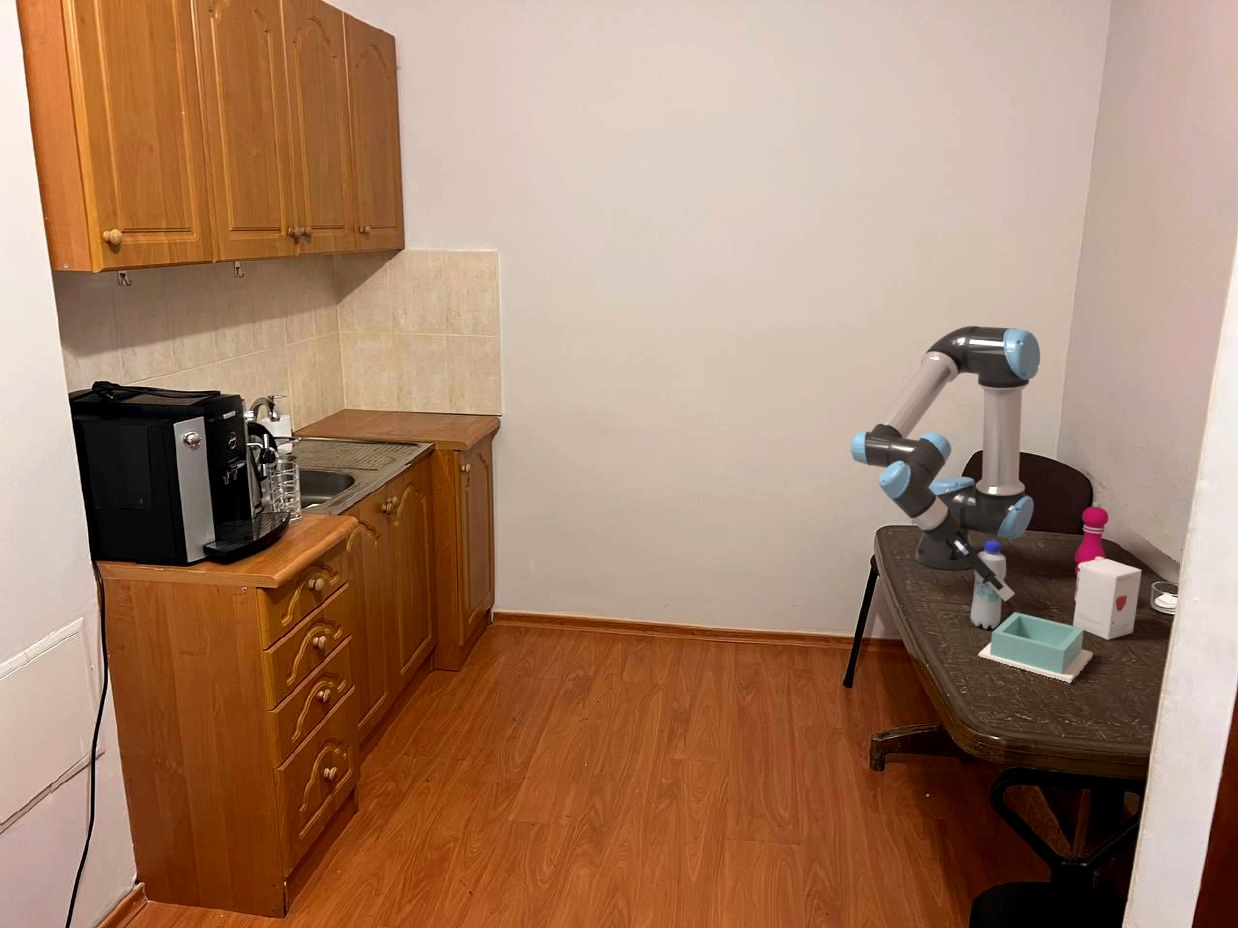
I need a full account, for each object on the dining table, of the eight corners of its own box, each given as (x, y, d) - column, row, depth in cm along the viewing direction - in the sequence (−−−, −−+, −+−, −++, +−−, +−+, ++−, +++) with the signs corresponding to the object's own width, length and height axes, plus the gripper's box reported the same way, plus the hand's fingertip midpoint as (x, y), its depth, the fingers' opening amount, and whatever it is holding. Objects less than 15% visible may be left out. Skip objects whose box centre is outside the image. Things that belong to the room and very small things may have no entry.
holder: (978, 658, 193) (980, 631, 192) (1004, 634, 205) (1006, 608, 204) (1069, 684, 182) (1073, 655, 181) (1092, 657, 194) (1095, 629, 192)
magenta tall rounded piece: (1097, 570, 244) (1106, 498, 240) (1108, 580, 237) (1117, 505, 233) (1068, 570, 245) (1077, 497, 240) (1078, 579, 238) (1087, 505, 233)
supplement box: (1108, 641, 202) (1116, 576, 198) (1071, 626, 210) (1079, 563, 206) (1134, 633, 206) (1143, 569, 202) (1098, 618, 214) (1105, 557, 210)
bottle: (999, 621, 212) (1008, 538, 207) (1001, 633, 206) (1010, 547, 201) (968, 617, 214) (976, 535, 209) (969, 629, 208) (977, 544, 203)
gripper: (913, 518, 216) (978, 585, 218) (932, 545, 197) (1004, 618, 199) (938, 496, 214) (1004, 565, 216) (960, 521, 195) (1032, 596, 197)
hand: (1004, 590), depth 208 cm, fingers closed on bottle, 7 cm apart
